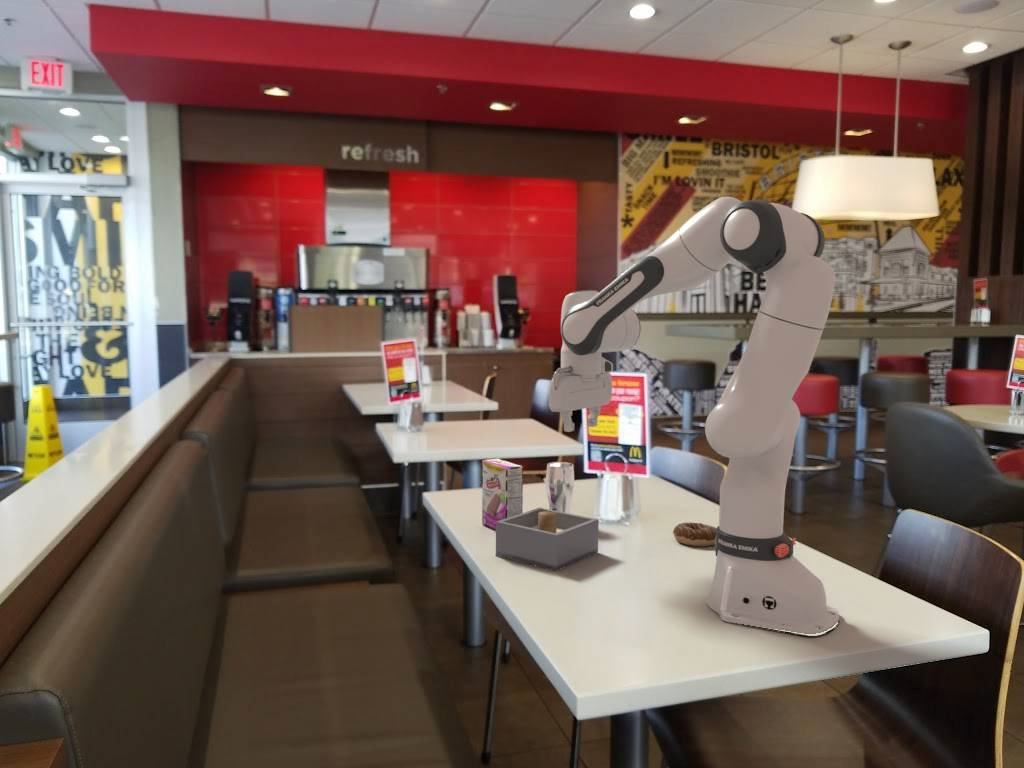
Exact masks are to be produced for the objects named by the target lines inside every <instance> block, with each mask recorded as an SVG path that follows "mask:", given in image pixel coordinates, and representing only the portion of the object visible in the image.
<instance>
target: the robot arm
mask: <svg viewBox="0 0 1024 768" xmlns="http://www.w3.org/2000/svg"><path fill="white" fill-rule="evenodd" d="M825 237H826V236H825V232H824V229H823V228H822V226H821V225H820V224H819V222H818V221H817V220H815V218H813V217H812V216H810V215H808V214H807V213H803V212H799V211H798V210H795V209H793V208H792V207H790V206H788V205H783V204H780V203H775V202H768V201H765V200H761V199H751V200H745V201H741V200H739V199H737V198H736V197H732V196H722V197H719V198H716V199H715V200H714V201H712V202H710V203H709V204H708V205H706V206H704V207H703V208H702V209H700V210H699V211H698V212H696V213H695V214H693V215H692V216H691V217H690V218H689V219H688V220H687V221H686V222H684V223H683V224H682V225H681V226H680V227H679V228H678V229H677V230H676V231H675V232H673V234H672V235H670V236H669V237H668V238H667V239H665V240H664V241H663V242H662V243H661V244H660V245H659V246H658V247H657V248H655V249H653V251H651V252H650V253H648V254H647V255H645V256H644V257H643V258H642V259H640V260H639V261H637V262H636V263H635V264H633V265H631V267H629V268H628V269H626V270H625V271H623V273H621V275H619V276H617V277H616V279H614V280H613V281H611V282H610V284H608V285H606V286H605V287H604V288H603V289H602V290H601V291H597V290H595V289H584V290H576V291H571V292H570V293H568V294H566V295H565V297H564V299H563V302H562V305H561V312H560V313H561V314H560V334H561V338H562V345H561V348H560V367H558V368H557V369H556V371H555V372H554V373H553V375H552V378H551V382H550V386H549V393H548V394H549V395H548V407H549V409H550V411H551V412H554V413H555V412H556V413H560V415H559V416H560V419H561V420H562V422H563V423H562V424H563V431H564V432H566V433H567V432H568V433H571V432H574V431H575V422H573V419H572V416H573V411H578V410H582V409H583V410H585V409H588V410H589V412H590V413H589V418H587V420H586V421H587V423H586V425H587V426H588V427H591V428H592V427H593V428H594V427H597V426H598V419H599V416H600V413H601V408H602V406H606V405H610V403H611V400H612V396H613V395H612V393H613V377H612V374H611V373H613V372H614V371H613V370H614V364H613V362H611V360H608V359H606V358H605V357H603V355H602V353H612V352H624V351H626V350H629V349H632V348H633V347H634V346H635V345H636V344H637V342H638V341H639V338H640V335H641V329H642V327H641V323H640V322H641V321H640V319H639V316H638V314H637V313H636V311H634V310H633V308H634V307H635V306H637V305H638V304H639V303H642V302H643V301H645V300H647V299H650V298H653V297H656V296H659V295H664V294H671V293H676V292H684V291H685V292H686V291H689V290H693V289H694V288H697V287H699V286H700V285H702V284H704V283H706V282H708V281H709V280H710V279H712V278H713V277H714V276H716V274H718V272H720V271H721V270H723V268H724V267H726V265H728V263H730V262H731V261H732V260H733V259H735V260H736V261H737V262H738V263H740V264H741V265H743V266H744V267H746V268H747V269H748V270H749V271H750V272H752V273H753V274H757V275H758V274H763V275H764V277H765V282H766V283H765V291H764V295H763V297H762V301H761V303H760V306H759V309H758V312H757V315H756V317H755V321H754V323H753V327H752V329H751V333H750V336H749V337H748V341H747V344H746V347H745V349H744V353H743V354H742V356H741V359H739V360H740V361H739V362H738V365H737V366H736V368H735V370H734V372H733V373H732V374H731V377H730V379H729V381H728V382H727V384H726V387H725V389H723V392H722V395H721V397H720V398H719V400H718V401H717V403H716V404H715V405H714V407H713V409H712V410H710V412H709V414H708V415H707V417H706V420H705V425H704V432H705V437H706V441H707V442H708V444H709V446H710V447H711V448H712V450H714V451H715V452H716V453H717V454H719V455H720V456H722V457H725V458H728V461H729V462H728V465H727V468H726V472H725V475H724V476H723V479H722V480H721V483H720V487H719V489H720V491H719V515H718V516H719V518H718V526H716V528H717V530H716V539H715V544H714V547H715V556H716V562H715V569H714V575H713V579H712V585H711V588H710V591H709V594H708V597H707V599H706V604H707V605H708V607H709V609H712V611H714V612H716V613H717V614H718V615H719V617H720V619H721V620H722V621H724V622H727V623H733V624H736V623H737V625H742V624H744V625H743V626H747V625H750V626H749V627H752V626H756V627H755V628H758V626H759V627H765V628H771V629H778V630H785V631H791V632H797V633H804V634H816V633H821V632H824V631H827V630H828V629H830V628H832V627H833V626H834V625H835V624H836V623H837V622H838V620H839V618H840V613H839V611H838V610H837V608H836V607H832V606H829V605H827V596H826V590H825V586H824V584H823V582H822V581H821V579H820V578H819V577H818V576H816V574H814V573H813V572H812V571H810V569H809V568H807V567H806V566H805V565H804V564H803V563H802V562H801V561H799V559H797V558H796V557H795V556H794V546H795V545H796V544H797V543H796V540H797V537H794V538H792V539H791V538H790V537H789V536H788V535H787V534H786V533H785V532H784V516H785V515H784V514H785V513H784V512H785V499H786V498H785V496H786V487H787V481H788V476H789V471H790V468H791V464H792V463H791V462H792V457H793V453H794V448H795V443H796V442H795V441H796V436H797V433H798V431H799V428H800V426H801V412H800V409H799V406H798V405H797V403H796V402H795V401H794V400H793V397H794V395H795V393H797V390H798V388H799V386H801V383H802V381H803V380H804V379H805V377H806V376H807V375H808V374H809V371H810V368H811V366H812V362H813V361H814V357H815V354H816V352H817V348H818V346H819V343H820V340H821V337H822V334H823V332H824V329H825V326H826V323H827V320H828V318H829V314H830V311H831V310H830V309H831V306H832V301H833V298H834V297H833V295H834V292H835V291H834V290H835V284H836V273H835V270H834V269H833V266H831V265H830V264H829V263H828V262H827V261H825V260H824V259H823V258H821V256H822V254H823V252H824V250H825V245H826V238H825ZM817 628H818V629H817Z"/></svg>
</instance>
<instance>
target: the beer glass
mask: <svg viewBox="0 0 1024 768" xmlns="http://www.w3.org/2000/svg"><path fill="white" fill-rule="evenodd" d="M545 472H546V475H545V486H546V495H547V496H546V497H547V502H548V509H549V510H554V511H559V512H564V513H569V514H571V505H572V500H573V494H574V487H575V471H574V464H573V463H571V462H566V461H552V462H548V463H547V464H546V471H545Z"/></svg>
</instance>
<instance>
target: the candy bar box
mask: <svg viewBox="0 0 1024 768" xmlns="http://www.w3.org/2000/svg"><path fill="white" fill-rule="evenodd" d="M481 468H482V475H481V476H482V477H481V478H482V481H481V482H482V483H481V484H482V486H481V487H482V488H481V489H482V494H481V495H482V497H481V500H482V506H481V507H482V508H481V509H482V510H481V512H482V515H481V516H482V519H481V520H482V523H481V525H483V526H485V527H487V528H489V529H491V530H494V531H496V522H497V521H500V520H503V519H506V518H509V517H512V516H515V515H518V514H521V513H523V506H524V505H523V503H524V502H523V501H524V499H523V496H524V493H523V491H524V490H523V488H524V486H523V484H524V483H523V481H524V478H523V474H524V473H523V471H524V470H523V468H524V466H522V465H521V464H516V463H513V462H510V461H507V460H505V459H501V458H490V459H483V460H482V465H481Z"/></svg>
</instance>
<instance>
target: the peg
mask: <svg viewBox="0 0 1024 768" xmlns="http://www.w3.org/2000/svg"><path fill="white" fill-rule="evenodd" d="M556 529H557V513H555V512H550V511H543V512H539V513H538V530H543V531H547V532H552V533H556Z"/></svg>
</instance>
